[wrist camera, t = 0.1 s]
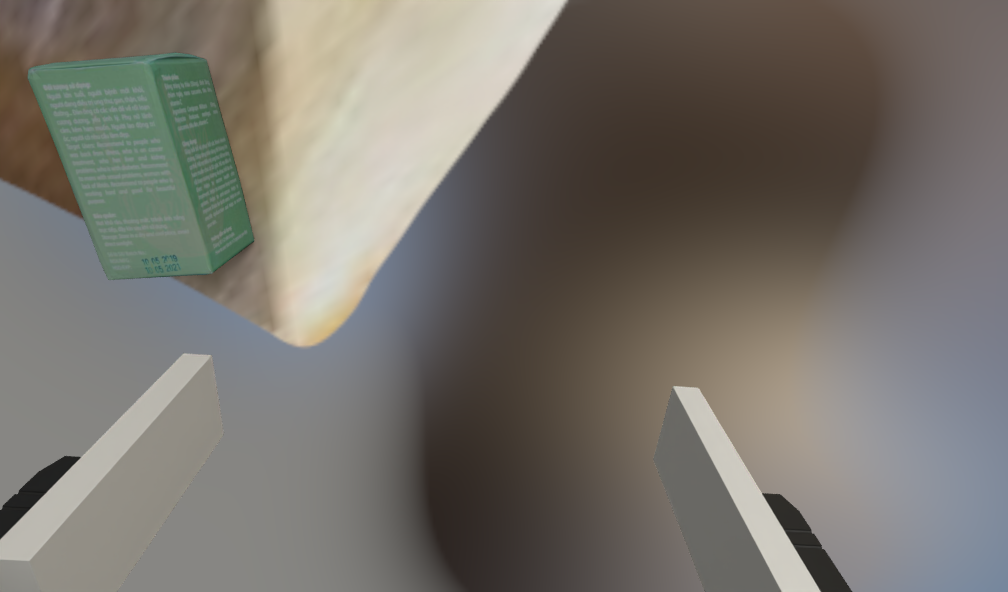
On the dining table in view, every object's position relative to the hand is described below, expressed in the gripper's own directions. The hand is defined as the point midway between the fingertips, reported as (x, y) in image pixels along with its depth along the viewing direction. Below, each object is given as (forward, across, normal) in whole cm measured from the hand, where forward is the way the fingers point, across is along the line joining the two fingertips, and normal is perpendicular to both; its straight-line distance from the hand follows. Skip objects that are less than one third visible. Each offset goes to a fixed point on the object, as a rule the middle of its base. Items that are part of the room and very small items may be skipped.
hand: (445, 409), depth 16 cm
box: (+28, -21, 0) cm, 35 cm away
